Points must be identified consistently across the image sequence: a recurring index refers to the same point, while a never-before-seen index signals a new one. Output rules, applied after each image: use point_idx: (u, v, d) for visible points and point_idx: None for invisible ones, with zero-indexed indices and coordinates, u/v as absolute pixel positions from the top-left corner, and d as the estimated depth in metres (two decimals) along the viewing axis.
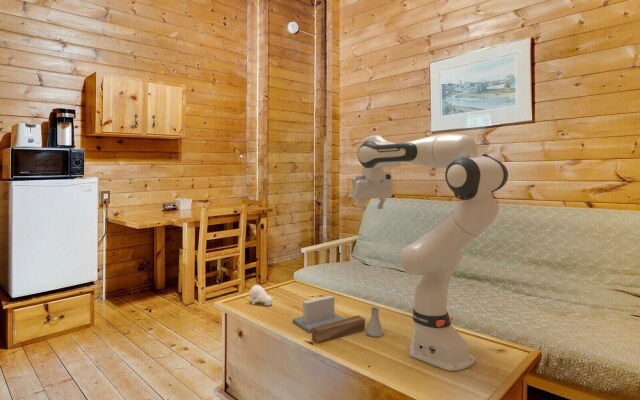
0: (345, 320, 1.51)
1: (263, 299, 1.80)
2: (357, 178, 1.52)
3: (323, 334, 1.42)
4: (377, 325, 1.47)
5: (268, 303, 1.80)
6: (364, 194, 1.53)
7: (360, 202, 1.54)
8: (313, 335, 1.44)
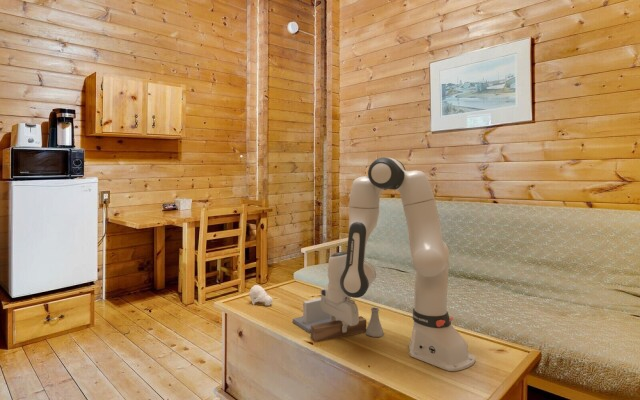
0: None
1: (263, 299, 1.80)
2: None
3: (321, 333, 1.43)
4: (377, 325, 1.47)
5: (268, 303, 1.80)
6: None
7: (346, 324, 1.45)
8: (311, 333, 1.45)
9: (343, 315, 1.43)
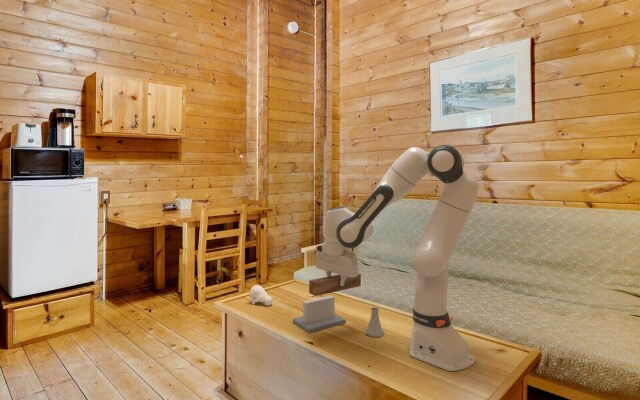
0: None
1: (263, 299, 1.80)
2: None
3: (320, 286, 1.42)
4: (377, 325, 1.47)
5: (268, 303, 1.80)
6: None
7: (344, 278, 1.46)
8: (310, 288, 1.43)
9: (343, 267, 1.43)
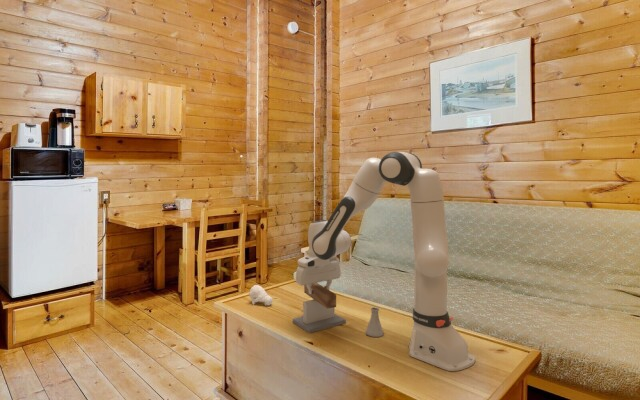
0: (314, 285, 1.62)
1: (263, 299, 1.80)
2: None
3: None
4: (377, 325, 1.47)
5: (268, 303, 1.80)
6: None
7: None
8: (329, 302, 1.49)
9: (332, 272, 1.60)
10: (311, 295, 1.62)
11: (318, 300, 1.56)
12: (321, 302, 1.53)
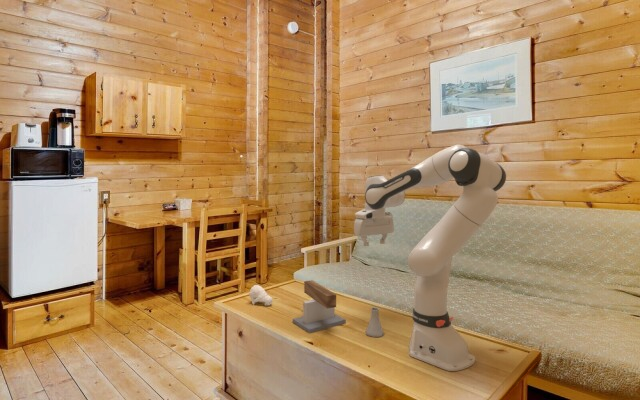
0: (314, 285, 1.62)
1: (263, 299, 1.80)
2: None
3: None
4: (377, 325, 1.47)
5: (268, 303, 1.80)
6: None
7: None
8: (329, 302, 1.49)
9: (386, 226, 1.68)
10: (311, 295, 1.62)
11: (318, 300, 1.56)
12: (321, 302, 1.53)
